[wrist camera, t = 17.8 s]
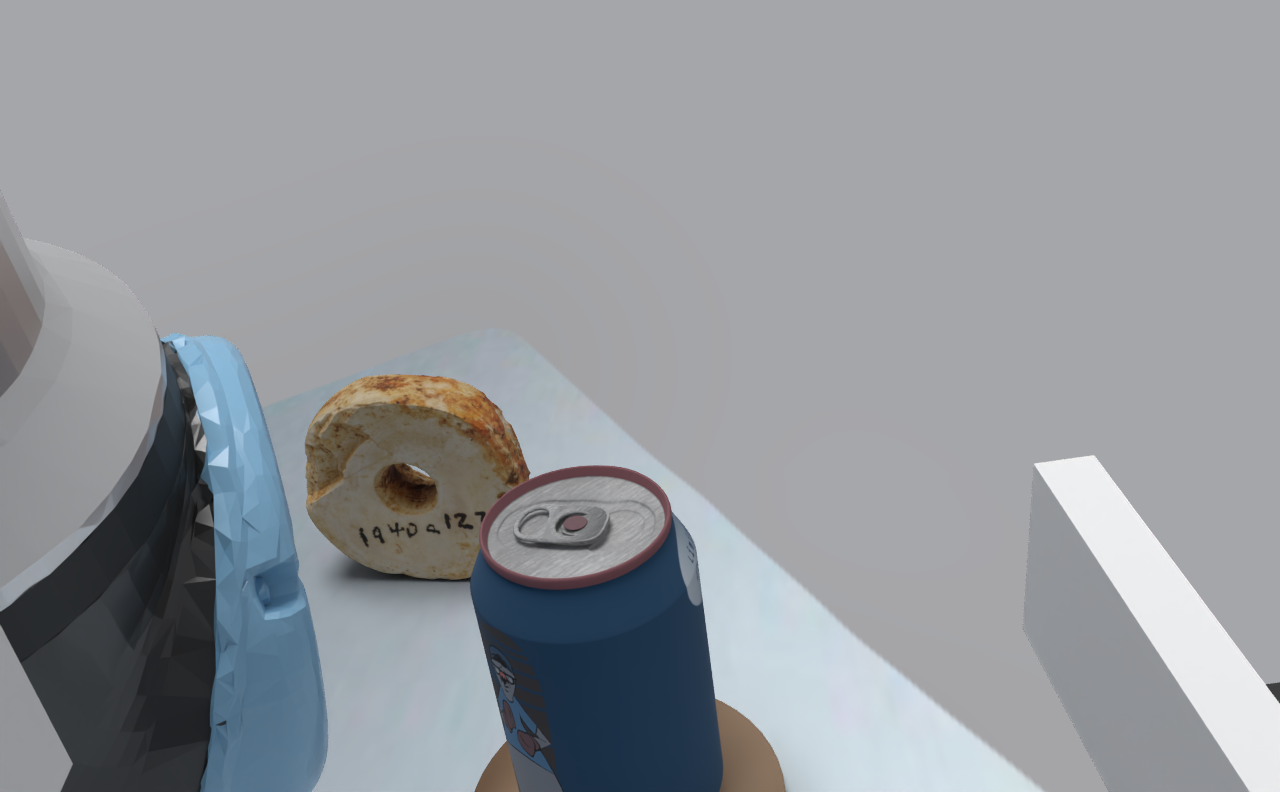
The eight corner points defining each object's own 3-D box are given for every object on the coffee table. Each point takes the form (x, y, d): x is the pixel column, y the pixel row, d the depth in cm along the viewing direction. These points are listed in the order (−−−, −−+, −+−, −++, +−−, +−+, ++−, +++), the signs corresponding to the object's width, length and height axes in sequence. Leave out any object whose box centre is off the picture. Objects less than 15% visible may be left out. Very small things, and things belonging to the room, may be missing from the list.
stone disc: (556, 539, 56) (519, 355, 51) (535, 590, 53) (494, 399, 48) (355, 535, 58) (302, 359, 53) (324, 583, 55) (264, 401, 50)
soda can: (742, 735, 42) (712, 457, 37) (704, 900, 37) (660, 602, 31) (562, 716, 44) (505, 450, 38) (498, 871, 39) (420, 585, 33)
